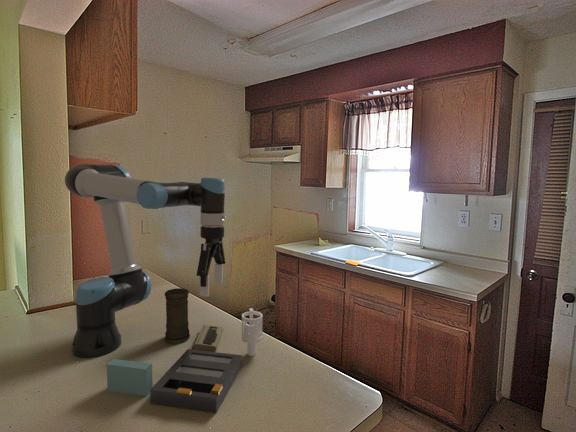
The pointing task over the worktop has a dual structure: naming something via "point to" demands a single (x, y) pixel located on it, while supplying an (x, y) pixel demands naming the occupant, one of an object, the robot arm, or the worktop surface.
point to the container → (177, 316)
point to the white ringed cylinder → (252, 330)
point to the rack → (197, 381)
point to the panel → (129, 377)
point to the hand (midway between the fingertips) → (211, 288)
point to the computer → (208, 338)
